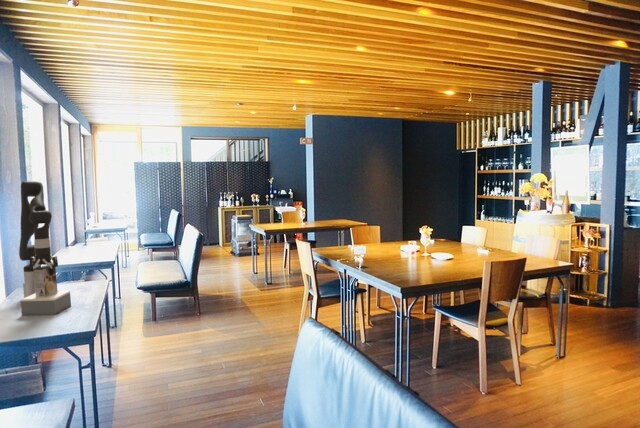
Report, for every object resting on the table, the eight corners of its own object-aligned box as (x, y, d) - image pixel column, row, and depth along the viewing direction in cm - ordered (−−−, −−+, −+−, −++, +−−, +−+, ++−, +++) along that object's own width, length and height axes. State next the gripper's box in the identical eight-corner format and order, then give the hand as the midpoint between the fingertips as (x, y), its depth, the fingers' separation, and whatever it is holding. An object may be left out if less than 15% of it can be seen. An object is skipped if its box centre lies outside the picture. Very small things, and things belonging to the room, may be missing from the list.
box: (21, 315, 239) (20, 301, 239) (39, 307, 255) (38, 293, 255) (55, 314, 240) (54, 300, 239) (71, 306, 256) (70, 292, 255)
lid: (20, 301, 239) (20, 299, 239) (38, 293, 255) (38, 291, 255) (54, 300, 239) (54, 298, 239) (70, 292, 255) (70, 290, 255)
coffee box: (48, 292, 252) (46, 265, 251) (58, 292, 251) (55, 265, 249) (35, 297, 243) (33, 268, 242) (45, 297, 242) (43, 268, 240)
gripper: (59, 245, 248) (61, 273, 250) (33, 245, 248) (35, 274, 249) (51, 247, 241) (53, 276, 242) (25, 247, 240) (27, 277, 242)
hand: (44, 275), depth 246 cm, fingers open, 8 cm apart
